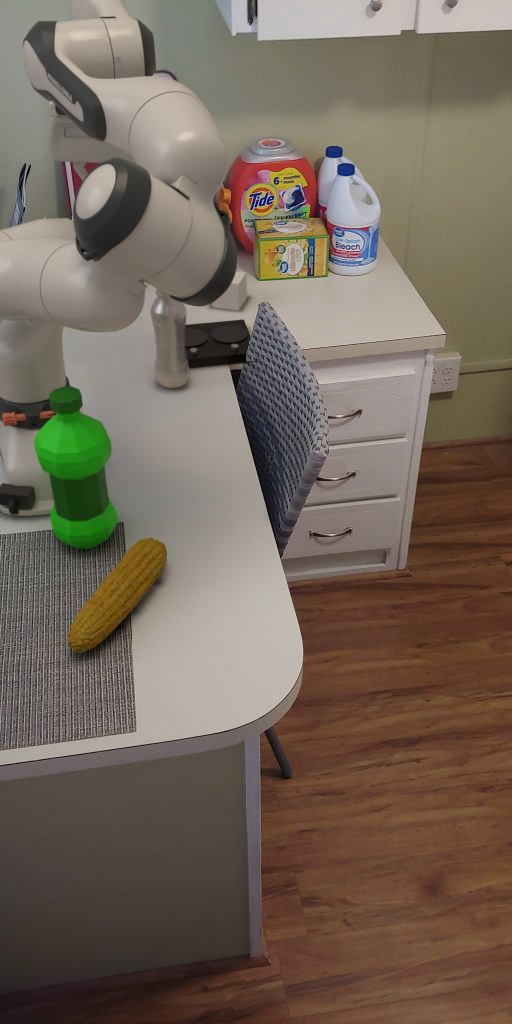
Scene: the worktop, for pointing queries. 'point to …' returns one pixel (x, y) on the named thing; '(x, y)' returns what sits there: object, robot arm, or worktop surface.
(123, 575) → the food
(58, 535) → the plastic bottle
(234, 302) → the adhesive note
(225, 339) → the hot plate
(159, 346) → the plastic bottle
